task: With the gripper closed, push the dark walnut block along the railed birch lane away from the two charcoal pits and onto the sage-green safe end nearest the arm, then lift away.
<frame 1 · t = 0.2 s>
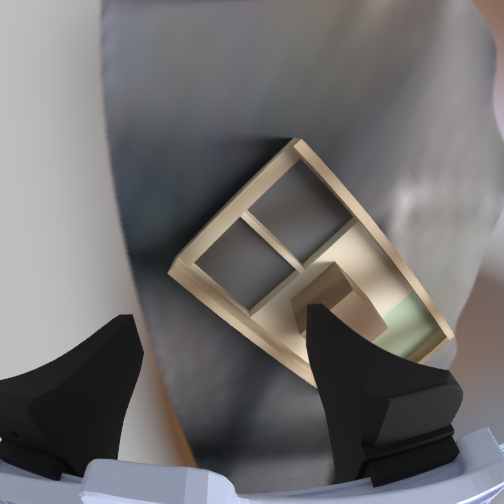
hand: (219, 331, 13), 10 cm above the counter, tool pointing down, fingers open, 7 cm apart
walnut block: (330, 298, 22), point 2 cm above the counter, touching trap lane
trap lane: (329, 292, 23), on the counter
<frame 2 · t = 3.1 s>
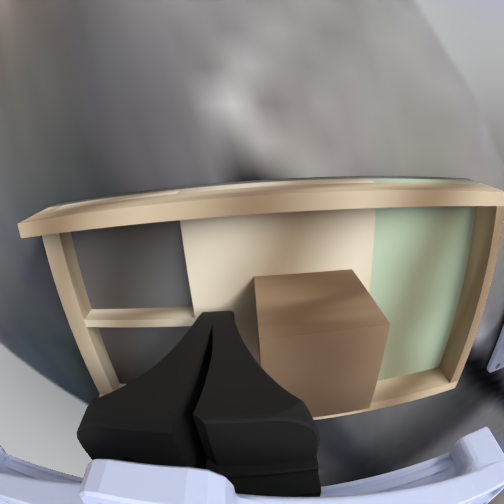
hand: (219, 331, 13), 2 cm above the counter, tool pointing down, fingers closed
walnut block: (303, 315, 13), point 2 cm above the counter, touching gripper
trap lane: (274, 298, 15), on the counter
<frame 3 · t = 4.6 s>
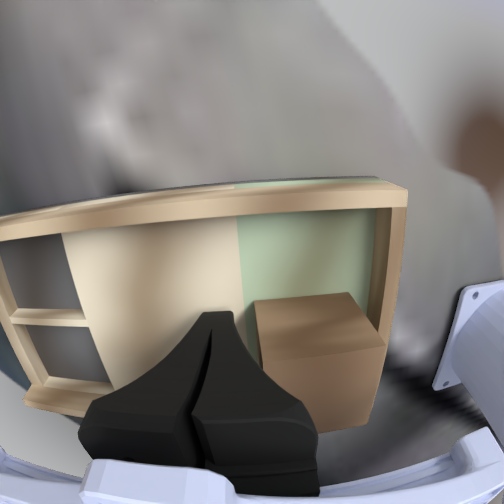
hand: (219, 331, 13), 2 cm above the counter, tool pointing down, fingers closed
walnut block: (301, 336, 14), point 2 cm above the counter, touching gripper, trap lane
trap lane: (162, 304, 15), on the counter
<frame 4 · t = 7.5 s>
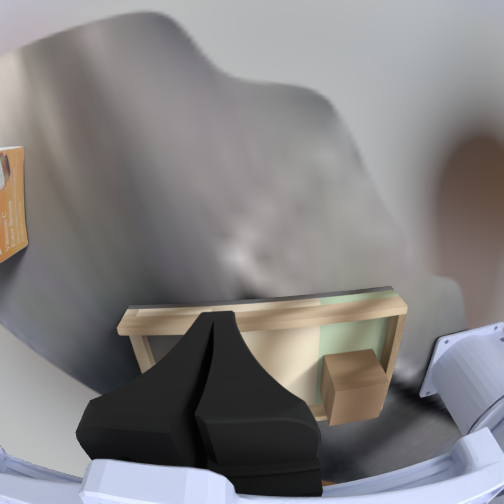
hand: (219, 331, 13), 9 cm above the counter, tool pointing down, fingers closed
walnut block: (345, 370, 24), point 2 cm above the counter, touching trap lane
small box: (4, 194, 19), on the counter
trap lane: (265, 356, 25), on the counter
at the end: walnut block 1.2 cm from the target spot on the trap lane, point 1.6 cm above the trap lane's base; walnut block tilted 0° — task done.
